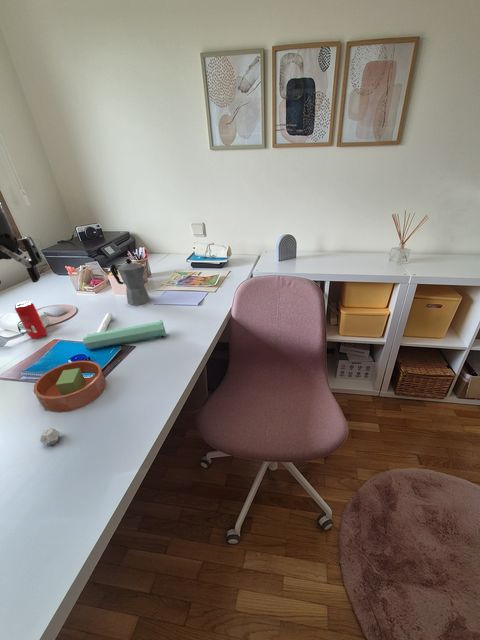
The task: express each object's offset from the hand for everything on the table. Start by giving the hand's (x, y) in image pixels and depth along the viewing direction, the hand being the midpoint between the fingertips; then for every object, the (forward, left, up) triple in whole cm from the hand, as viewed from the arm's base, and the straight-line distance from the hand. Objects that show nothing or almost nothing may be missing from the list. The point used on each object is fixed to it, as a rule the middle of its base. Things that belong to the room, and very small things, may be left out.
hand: (17, 283), depth 75 cm
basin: (+8, -13, -26) cm, 30 cm away
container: (+18, +10, -26) cm, 33 cm away
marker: (+9, +23, -26) cm, 36 cm away
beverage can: (-13, +22, -26) cm, 37 cm away
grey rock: (+8, -30, -26) cm, 41 cm away
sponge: (+8, -13, -26) cm, 30 cm away
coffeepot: (+17, +44, -26) cm, 54 cm away
